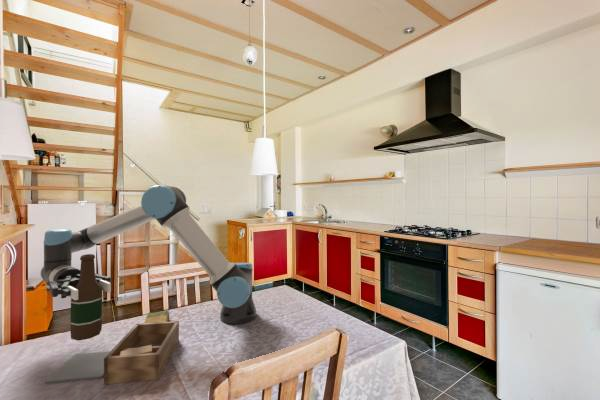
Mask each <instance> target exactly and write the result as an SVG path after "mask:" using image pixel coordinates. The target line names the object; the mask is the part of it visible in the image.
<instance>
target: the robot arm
mask: <svg viewBox="0 0 600 400" xmlns="http://www.w3.org/2000/svg"><path fill="white" fill-rule="evenodd" d="M140 201H141V202H140V203H141V205H140V204H139V205H138V206H136V207H133V208H131V209H128V210H126V211H123V212H121V213H119V214H117V215H115V216H112V217H110V218H106V219H105V220H102V221H100V222H98V223H95V224H93V225H90V226H89V227H85V228H83V229H80V230H79V231H74V232H72V230H71V229H69V228H68V229H67V228H59V229H49V230H47V231H45V232H44V239H43V267H42V268H41V269H40V277H41V279H42V280H43V281H44V282H45V283H46V288H45V289H46V291H47V292H49V293H50V294H51V297H52V298H56V297H59V295H60V299H66V298H67V297H68V298H70V299H71V298H72V299H74V300H78V290H77V289H76V288H75V287H76V286H77V285H78V283H79V279H80V269H78V268H76V267H75V266H72V255H73V254H72V253H76V252H80V251H83V250H85V251H86V250H89V249H91V248H93V247H94V246H96V245H98V244H100V243H103V242H105V241H107V240H110V239H112V238H115V237H117V236H119V235H121V234H124V233H126V232H128V231H130V230H133V229H135V228H138V227H140V226H143V225H145V224H147V223H150V222H153V221H154V220H156V221H157V222H158V224H159V225H160V226H161V227H162V228H167V229H168V228H169V230H170V231H171V232H172V233H173V234H174V235H175V237H176V238H177V239H178V240H179V242H180V243H181V244H182V245H183V246H184V248H185V249H186V250H187V251H188V252H189V254H190V255H191V256H192V257H193V259H195V261H196V262H197V263H198V264H199V266H200V267H201V268H202V269H203V270H204V272H205V273H206V274H207V275H208V276H209V277H210V281H209V284H210V286H211V287H212V288H213V290H214V291H215V292H216V297H217V300H218V302H219V303H220V304H221V305H222V306H221V310H220V316H219V317H220V318H219V319H220V321H221V322H223V323H226V324H231V325H233V324H234V325H236V324H237V325H240V324H244V323H248V322H250V321H253V320H254V319H255V318H256V317H257V309H256V306H255V303H254V299H253V270H254V269H253V265H252V263H250V262H230V261H229V260H228V259H227V258H226V257H225V256H224V254H223V253H222V252H221V251H220V249H219V248H218V247H217V246H216V244H214V242H213V241H212V240H211V238H210V237H209V236H208V235H207V234H206V232H205V231H204V230H203V229H202V227H201V226H200V225H199V224H198V223H197V222H196V220H195V219H194V218H193V217H192V215H191V214H190V206H189V205H188V204H187V197H186V195H185V193H184V191H182V190H181V189H180V188H178V187H176V186H169V185H165V184H158V185H153V186H151V187H149V188H147V189H146V190H145V191H144V193H143V194H142V196H141V200H140ZM95 278H96V281H97V282H98V283H99V284H100V286H101V288H102V292H105V293H111V292H112V278H111V277H110V276H107V275H101V274H99V273H96V272H95Z"/></svg>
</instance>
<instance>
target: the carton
mask: <svg viewBox="0 0 600 400" xmlns="http://www.w3.org/2000/svg"><path fill="white" fill-rule="evenodd" d="M158 322H170V311H169V310H162V311H156V312H149V313H147V315H146V317H145V321H144V323H158Z"/></svg>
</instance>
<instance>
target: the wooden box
mask: <svg viewBox="0 0 600 400" xmlns="http://www.w3.org/2000/svg"><path fill="white" fill-rule="evenodd" d="M179 334H180V321H179V320H178V321H169V322H158V323H145V322H144V323H136V324H135V325H134V326H132V328H131V329H129V331H128V332H127V333H126V334H125V335H124V337H122V339H121V340H120V341H119V342H118V343H117V344H115V346H114V347H113V348H112V350H110V351H111V352H110V353H109V354H108V355H107V356H106V357H105V358H104V376H103V385H112V384H121V383H133V382H143V381H146V382H147V381H154V380H159V379H160V378H161V376H162V374H163V372H164V370H165V369H166V367H167V365H168V363H169V361H170V359H171V356H172V355H173V353H174V351H175V349H176V347H177V345H178V343H179V342H180V340H179V338H180V337H179V336H180V335H179ZM157 344H159V345H157ZM160 344H161V345H160ZM148 345H152V353H146V354H133V355H121V356H120V353H121V351H124V350H129V349H133V348H138V347H139V346H148ZM153 345H154V346H153Z"/></svg>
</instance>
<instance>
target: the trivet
mask: <svg viewBox="0 0 600 400" xmlns="http://www.w3.org/2000/svg"><path fill="white" fill-rule="evenodd" d="M111 351H112V350H110V351H107V350H106V351H96V352H85V353H76V354H74V355H73V356H72V357H71V358H69V359H68V360H67V361H66V362H65V363H64V364H63V365H61V366H60V367H59V368H58V369H57V370H56V371H55V372H54V373H52V374H51V375H50V376H49V377H48V378H47V379H46V380H45V381H44V384H53V383H55V384H56V383H66V382H77V381H86V380H97V379H98V380H99V379H102V378H104V358H105V357H106V356H107V355H108V354H109V353H110V352H111Z"/></svg>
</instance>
